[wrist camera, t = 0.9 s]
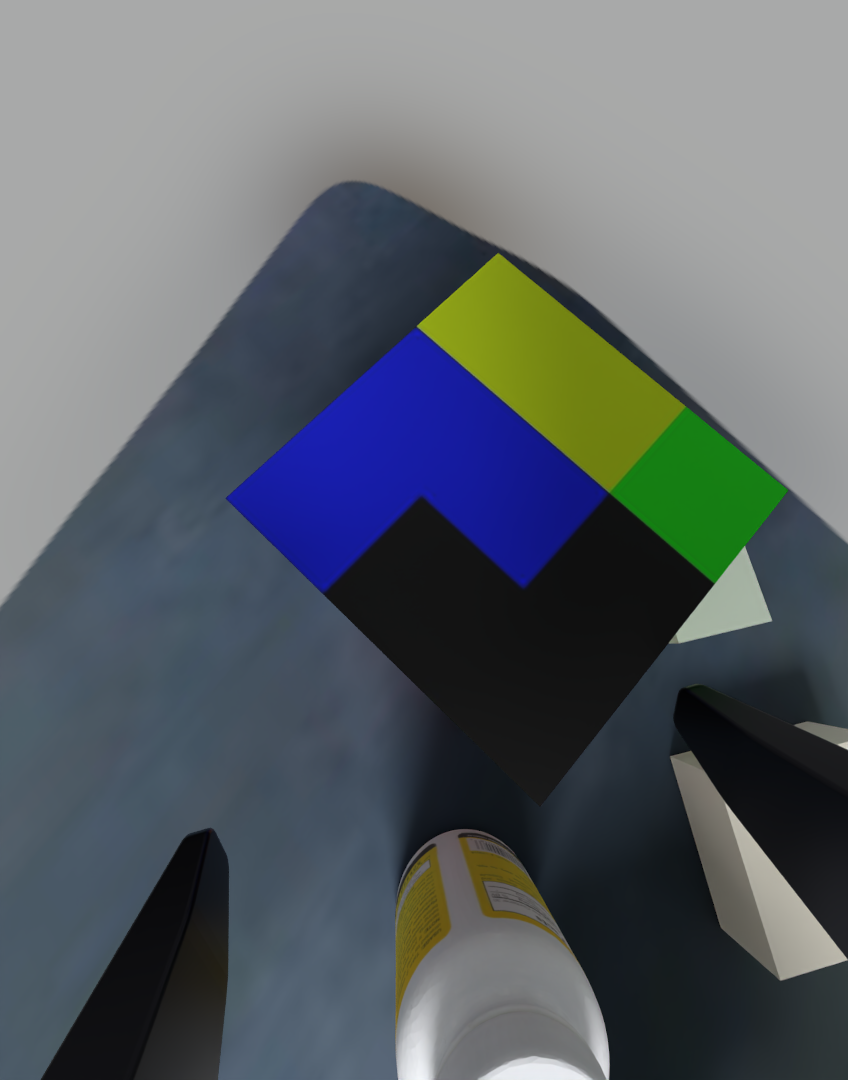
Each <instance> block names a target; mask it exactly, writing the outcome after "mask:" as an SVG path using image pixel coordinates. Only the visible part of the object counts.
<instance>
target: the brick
mask: <svg viewBox="0 0 848 1080" xmlns="http://www.w3.org/2000/svg"><path fill="white" fill-rule="evenodd" d="M770 621H772V619H771V616H770V614H769V611H768V608H767V605H766V603H765V600H764V597H763V595H762V592H761V589H760V586H759V584H758V581H757V578H756V575H755V573H754V570H753V567H752V565H751V562H750V559H749V556H748V554H747V551H746V548H745V546H744V548H743V549H742V550H741V551H740V553H739V554H738V555H737V557H736V558H735V559H734V560H733V562H732V563H731V564H730V565H729V567H728V568H727V569H726V571H725V572H724V573H723V574H722V576H721V577H720V578H719V579H718V581H717V582H716V583H715V585H714V586H713V587H712V588H711V590H710V591H709V592H708V593H707V595H706V596H705V597H704V599H703V600H702V601H701V602H700V604H699V605H698V606H697V607H696V609H695V610H694V611H693V613H692V614H691V615H690V616H689V618H688V619H687V620H686V621H685V623H684V624H683V625H682V627H681V628H680V629H679V630H678V632H677V633H676V634H675V635H674V637H673V638H672V639H671V641H670V642H669V643H683V642H687V641H691V640H695V639H699V638H703V637H708V636H712V635H716V634H720V633H724V632H728V631H733V630H737V629H741V628H745V627H749V626H753V625H758V624H762V623H766V622H770Z"/></svg>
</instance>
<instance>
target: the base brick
mask: <svg viewBox="0 0 848 1080" xmlns="http://www.w3.org/2000/svg"><path fill="white" fill-rule="evenodd" d="M794 726H796V727H798V728H801V729H803V730H805V731H807V732H810V733H812V734H814V735H816V736H819V737H821V738H823V739H825V740H827V741H830V742H832V743H834V744H836V745H839V746H841V747H843V748H845V749H847V750H848V729H844V728H839V727H834V726H829V725H824V724H819V723H813V722H808V721H807V722H803V723H799V724H795V725H794ZM670 758H671V762H672V765H673V769H674V772H675V775H676V779H677V782H678V785H679V789H680V792H681V796H682V799H683V802H684V806H685V809H686V812H687V816H688V819H689V822H690V826H691V829H692V833H693V836H694V839H695V843H696V846H697V849H698V853H699V856H700V860H701V863H702V866H703V870H704V873H705V876H706V880H707V883H708V887H709V890H710V893H711V897H712V900H713V903H714V907H715V910H716V913H717V917H718V920H719V924H720V927H721V928H722V929H723V930H724V931H725V932H726V933H727V934H728V935H729V936H731V937H732V938H733V939H734V940H735V941H736V942H737V943H738V944H740V945H741V946H742V947H743V948H744V949H745V950H746V951H747V952H749V953H750V954H751V955H752V956H753V957H754V958H755V959H756V960H758V961H759V962H760V963H761V964H762V965H763V966H764V967H765V968H767V969H768V970H769V971H770V972H771V973H772V974H773V975H774V976H776V977H777V978H778V979H779V980H780V981H782V980H785V979H788V978H791V977H795V976H798V975H801V974H804V973H808V972H811V971H814V970H817V969H821V968H824V967H827V966H830V965H834V964H837V963H840V962H843V961H846V960H848V959H847V958H846V957H845V955H844V954H843V953H842V952H841V950H840V949H839V948H838V947H837V945H836V944H835V943H834V941H833V940H832V939H831V938H830V936H829V935H828V934H827V932H826V931H825V930H824V929H823V927H822V926H821V925H820V923H819V922H818V921H817V920H816V918H815V917H814V916H813V915H812V913H811V912H810V911H809V909H808V908H807V907H806V906H805V904H804V903H803V902H802V900H801V899H800V898H799V897H798V895H797V894H796V893H795V891H794V890H793V889H792V888H791V886H790V885H789V884H788V883H787V881H786V880H785V879H784V877H783V876H782V875H781V874H780V872H779V871H778V870H777V868H776V867H775V866H774V865H773V863H772V862H771V861H770V859H769V858H768V857H767V856H766V854H765V853H764V852H763V850H762V849H761V848H760V847H759V845H758V844H757V843H756V842H755V840H754V839H753V838H752V836H751V835H750V834H749V833H748V831H747V830H746V829H745V827H744V826H743V825H742V824H741V822H740V821H739V820H738V818H737V817H736V816H735V815H734V813H733V812H732V811H731V809H730V808H729V807H728V805H727V804H726V803H725V801H724V800H723V798H722V797H721V796H720V794H719V793H718V791H717V790H716V788H715V787H714V785H713V784H712V782H711V781H710V779H709V777H708V776H707V774H706V773H705V771H704V770H703V768H702V767H701V765H700V764H699V762H698V761H697V759H696V758H695V756H694V754H693V753H692V751H689V752H685V753H681V754H677V755H673V756H670Z"/></svg>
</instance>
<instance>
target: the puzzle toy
mask: <svg viewBox="0 0 848 1080" xmlns="http://www.w3.org/2000/svg"><path fill="white" fill-rule="evenodd" d="M787 492H788V490H787V489H786V488H785V487H783V486H782V485H781V484H780V483H779V482H777V481H776V480H775V479H774V478H772V477H771V476H770V475H769V474H768V473H766V472H765V471H764V470H763V469H761V468H760V467H759V466H758V465H757V464H755V463H754V462H753V461H752V460H750V459H749V458H748V457H747V456H746V455H744V454H743V453H742V452H741V451H739V450H738V449H737V448H736V447H735V446H733V445H732V444H731V443H730V442H728V441H727V440H726V439H725V438H724V437H722V436H721V435H720V434H719V433H718V432H716V431H715V430H714V429H713V428H711V427H710V426H709V425H708V424H707V423H705V422H704V421H703V420H702V419H700V418H699V417H698V416H697V415H696V414H694V413H693V412H692V411H691V410H689V409H688V408H687V407H686V406H685V405H683V404H682V403H681V402H680V401H678V400H677V399H676V398H675V397H674V396H672V395H671V394H670V393H669V392H667V391H666V390H665V389H664V388H663V387H661V386H660V385H659V384H658V383H656V382H655V381H654V380H653V379H652V378H650V377H649V376H648V375H647V374H645V373H644V372H643V371H642V370H641V369H639V368H638V367H637V366H636V365H634V364H633V363H632V362H631V361H630V360H628V359H627V358H626V357H625V356H623V355H622V354H621V353H620V352H619V351H617V350H616V349H615V348H614V347H612V346H611V345H610V344H609V343H608V342H606V341H605V340H604V339H603V338H602V337H600V336H599V335H598V334H597V333H595V332H594V331H593V330H592V329H591V328H589V327H588V326H587V325H586V324H584V323H583V322H582V321H581V320H580V319H578V318H577V317H576V316H575V315H573V314H572V313H571V312H570V311H569V310H567V309H566V308H565V307H564V306H562V305H561V304H560V303H559V302H558V301H556V300H555V299H554V298H553V297H551V296H550V295H549V294H548V293H547V292H545V291H544V290H543V289H542V288H540V287H539V286H538V285H537V284H536V283H534V282H533V281H532V280H531V279H529V278H528V277H527V276H526V275H525V274H523V273H522V272H521V271H520V270H518V269H517V268H516V267H515V266H514V265H512V264H511V263H510V262H509V261H507V260H506V259H505V258H504V257H503V256H501V255H500V254H499V253H498V254H496V255H495V256H494V257H493V258H492V259H491V260H490V261H489V262H488V263H486V264H485V265H484V266H483V267H482V268H481V269H480V270H479V271H478V272H476V273H475V274H474V275H473V276H472V277H471V278H470V279H469V280H468V281H466V282H465V283H464V284H463V285H462V286H461V287H460V288H459V289H458V290H456V291H455V292H454V293H453V294H452V295H451V296H450V297H449V298H448V299H446V300H445V301H444V302H443V303H442V304H441V305H440V306H439V307H438V308H436V309H435V310H434V311H433V312H432V313H431V314H430V315H429V316H428V317H426V318H425V319H424V320H423V321H422V322H421V323H420V324H419V325H418V326H416V327H415V328H414V329H413V330H412V331H411V332H410V333H409V334H408V335H406V336H405V337H404V338H403V339H402V340H401V341H400V342H399V343H397V344H396V345H395V346H394V347H393V348H392V349H391V350H390V351H389V352H387V353H386V354H385V355H384V356H383V357H382V358H381V359H380V360H379V361H377V362H376V363H375V364H374V365H373V366H372V367H371V368H370V369H369V370H367V371H366V372H365V373H364V374H363V375H362V376H361V377H360V378H359V379H357V380H356V381H355V382H354V383H353V384H352V385H351V386H350V387H349V388H347V389H346V390H345V391H344V392H343V393H342V394H341V395H340V396H339V397H337V398H336V399H335V400H334V401H333V402H332V403H331V404H330V405H329V406H327V407H326V408H325V409H324V410H323V411H322V412H321V413H320V414H319V415H317V416H316V417H315V418H314V419H313V420H312V421H311V422H310V423H309V424H307V425H306V426H305V427H304V428H303V429H302V430H301V431H300V432H299V433H297V434H296V435H295V436H294V437H293V438H292V439H291V440H290V441H289V442H287V443H286V444H285V445H284V446H283V447H282V448H281V449H280V450H279V451H277V452H276V453H275V454H274V455H273V456H272V457H271V458H270V459H268V460H267V461H266V462H265V463H264V464H263V465H262V466H261V467H260V468H258V469H257V470H256V471H255V472H254V473H253V474H252V475H251V476H250V477H248V478H247V479H246V480H245V481H244V482H243V483H242V484H241V485H240V486H238V487H237V488H236V489H235V490H234V491H233V492H232V493H231V494H230V495H228V496H227V497H226V499H227V500H228V501H229V502H230V503H231V504H232V505H233V506H234V507H235V508H236V509H237V510H238V511H239V512H240V513H241V514H242V515H243V516H244V517H245V518H246V519H247V520H248V521H249V522H250V523H251V524H252V525H253V526H254V527H255V528H256V529H257V530H258V531H259V532H260V533H261V534H262V535H263V536H264V537H265V538H266V539H267V540H268V541H269V542H271V543H272V544H273V545H274V546H275V547H276V548H277V549H278V550H279V551H280V552H281V553H282V554H283V555H284V556H285V557H286V558H287V559H288V560H289V561H290V562H291V563H292V564H293V565H294V566H295V567H296V568H297V569H298V570H299V571H300V572H301V573H302V574H303V575H304V576H305V577H306V578H307V579H308V580H309V581H310V582H311V583H312V584H313V585H314V586H315V587H316V588H317V589H318V590H319V591H320V592H322V593H323V594H324V595H325V596H326V597H327V598H328V599H329V600H330V601H331V602H332V603H333V604H334V605H335V606H336V607H337V608H338V609H339V610H340V611H341V612H342V613H343V614H344V615H345V616H346V617H347V618H348V619H349V620H350V621H351V622H352V623H353V624H354V625H355V626H356V627H357V628H358V629H359V630H360V631H361V632H362V633H363V634H364V635H365V636H366V637H367V638H368V639H369V640H370V641H371V642H373V643H374V644H375V645H376V646H377V647H378V648H379V649H380V650H381V651H382V652H383V653H384V654H385V655H386V656H387V657H388V658H389V659H390V660H391V661H392V662H393V663H394V664H395V665H396V666H397V667H398V668H399V669H400V670H401V671H402V672H403V673H404V674H405V675H406V676H407V677H408V678H409V679H410V680H411V681H412V682H413V683H414V684H415V685H416V686H417V687H418V688H419V689H420V690H421V691H422V692H424V693H425V694H426V695H427V696H428V697H429V698H430V699H431V700H432V701H433V702H434V703H435V704H436V705H437V706H438V707H439V708H440V709H441V710H442V711H443V712H444V713H445V714H446V715H447V716H448V717H449V718H450V719H451V720H452V721H453V722H454V723H455V724H456V725H457V726H458V727H459V728H460V729H461V730H462V731H463V732H464V733H465V734H466V735H467V736H468V737H469V738H470V739H471V740H472V741H473V742H475V743H476V744H477V745H478V746H479V747H480V748H481V749H482V750H483V751H484V752H485V753H486V754H487V755H488V756H489V757H490V758H491V759H492V760H493V761H494V762H495V763H496V764H497V765H498V766H499V767H500V768H501V769H502V770H503V771H504V772H505V773H506V774H507V775H508V776H509V777H510V778H511V779H512V780H513V781H514V782H515V783H516V784H517V785H518V786H519V787H520V788H521V789H522V790H523V791H524V792H525V793H527V794H528V795H529V796H530V797H531V798H532V799H533V800H534V801H535V802H536V803H537V804H538V805H539V806H541V805H542V804H543V802H544V801H545V800H546V798H547V797H548V796H549V795H550V793H551V792H552V791H553V790H554V788H555V787H556V786H557V784H558V783H559V782H560V781H561V779H562V778H563V777H564V776H565V774H566V773H567V772H568V770H569V769H570V768H571V767H572V765H573V764H574V763H575V762H576V760H577V759H578V758H579V756H580V755H581V754H582V753H583V751H584V750H585V749H586V748H587V746H588V745H589V744H590V742H591V741H592V740H593V739H594V737H595V736H596V735H597V734H598V732H599V731H600V730H601V728H602V727H603V726H604V725H605V723H606V722H607V721H608V720H609V718H610V717H611V716H612V714H613V713H614V712H615V711H616V709H617V708H618V707H619V706H620V704H621V703H622V702H623V700H624V699H625V698H626V697H627V695H628V694H629V693H630V691H631V690H632V689H633V688H634V686H635V685H636V684H637V683H638V681H639V680H640V679H641V677H642V676H643V675H644V674H645V672H646V671H647V670H648V669H649V667H650V666H651V665H652V663H653V662H654V661H655V660H656V658H657V657H658V656H659V655H660V653H661V652H662V651H663V649H664V648H665V647H666V646H667V644H668V643H669V642H670V641H671V639H672V638H673V637H674V635H675V634H676V633H677V632H678V630H679V629H680V628H681V627H682V625H683V624H684V623H685V621H686V620H687V619H688V618H689V616H690V615H691V614H692V613H693V611H694V610H695V609H696V607H697V606H698V605H699V604H700V602H701V601H702V600H703V599H704V597H705V596H706V595H707V593H708V592H709V591H710V590H711V588H712V587H713V586H714V585H715V583H716V582H717V581H718V579H719V578H720V577H721V576H722V574H723V573H724V572H725V571H726V569H727V568H728V567H729V565H730V564H731V563H732V562H733V560H734V559H735V558H736V557H737V555H738V554H739V553H740V551H741V550H742V549H743V548H744V546H745V545H746V544H747V543H748V541H749V540H750V539H751V537H752V536H753V535H754V534H755V532H756V531H757V530H758V529H759V527H760V526H761V525H762V523H763V522H764V521H765V520H766V518H767V517H768V516H769V515H770V513H771V512H772V511H773V509H774V508H775V507H776V506H777V504H778V503H779V502H780V501H781V499H782V498H783V497H784V495H785V494H786V493H787Z"/></svg>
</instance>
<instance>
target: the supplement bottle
mask: <svg viewBox="0 0 848 1080" xmlns="http://www.w3.org/2000/svg"><path fill="white" fill-rule="evenodd" d="M395 932H396V1033H395V1039H396V1060H397V1072H398V1080H609V1066H610V1063H609V1047H608V1038H607V1033H606V1028H605V1023H604V1020H603V1016H602V1013H601V1010H600V1007H599V1004H598V1002H597V999H596V997H595V994H594V992H593V990H592V988H591V985H590V983H589V981H588V979H587V977H586V975H585V973H584V971H583V969H582V968H581V966H580V964H579V962H578V961H577V959H576V957H575V955H574V953H573V952H572V950H571V948H570V947H569V945H568V943H567V941H566V939H565V938H564V936H563V934H562V933H561V931H560V929H559V927H558V925H557V924H556V922H555V920H554V918H553V916H552V915H551V913H550V911H549V910H548V908H547V906H546V904H545V902H544V900H543V899H542V897H541V895H540V894H539V892H538V890H537V888H536V886H535V885H534V883H533V881H532V880H531V878H530V876H529V874H528V873H527V871H526V869H525V868H524V866H523V864H522V863H521V861H520V860H519V859H518V857H517V856H516V855H515V854H514V852H513V851H512V850H511V849H510V848H509V847H508V846H507V845H505V844H504V843H503V842H502V841H500V840H499V839H497V838H495V837H494V836H492V835H490V834H487V833H485V832H482V831H478V830H472V829H458V830H452V831H448V832H445V833H443V834H440V835H438V836H436V837H434V838H433V839H431V840H430V841H428V842H427V843H426V844H424V845H423V846H422V847H421V848H420V849H419V850H418V851H417V852H416V854H415V855H414V856H413V857H412V859H411V860H410V862H409V863H408V865H407V867H406V869H405V871H404V873H403V875H402V878H401V881H400V884H399V888H398V893H397V899H396V911H395Z"/></svg>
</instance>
